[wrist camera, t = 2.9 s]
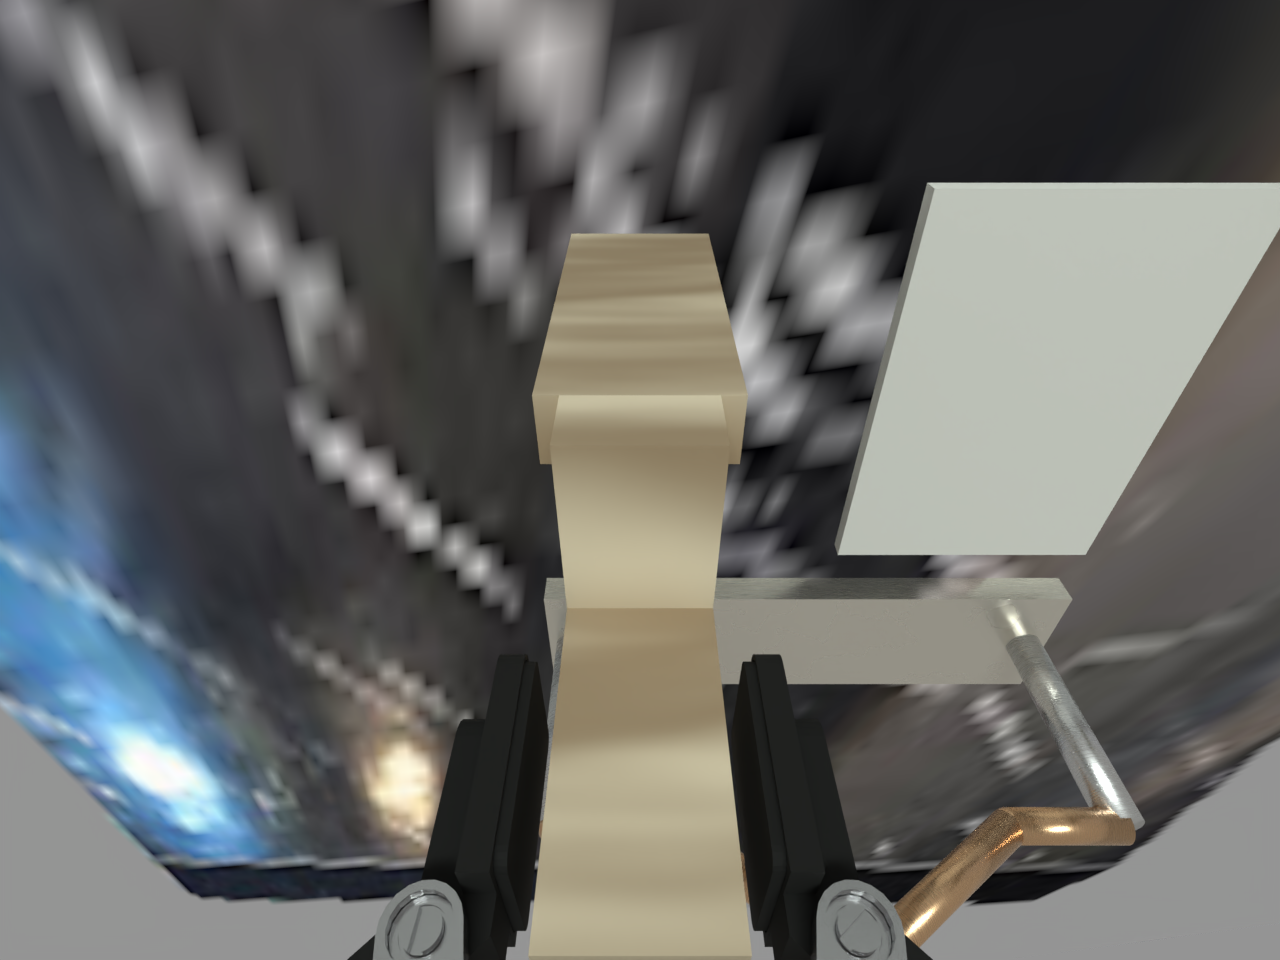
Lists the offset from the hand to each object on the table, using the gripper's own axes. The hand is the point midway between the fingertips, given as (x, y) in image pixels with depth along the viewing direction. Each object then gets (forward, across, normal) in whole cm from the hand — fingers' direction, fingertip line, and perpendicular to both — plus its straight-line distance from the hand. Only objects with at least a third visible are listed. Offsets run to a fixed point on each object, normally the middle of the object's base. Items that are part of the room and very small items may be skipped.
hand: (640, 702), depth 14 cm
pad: (+12, -13, 0) cm, 18 cm away
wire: (+12, -7, +12) cm, 18 cm away
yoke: (+12, 0, 0) cm, 12 cm away
